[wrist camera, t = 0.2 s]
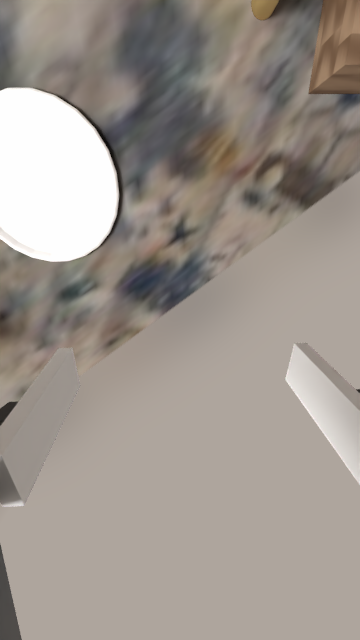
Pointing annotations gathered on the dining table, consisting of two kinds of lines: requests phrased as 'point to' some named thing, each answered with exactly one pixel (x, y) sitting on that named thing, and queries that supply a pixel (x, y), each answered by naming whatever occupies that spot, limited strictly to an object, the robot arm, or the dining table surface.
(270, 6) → the pin
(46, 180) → the plate
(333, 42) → the bore block
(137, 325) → the dining table surface
